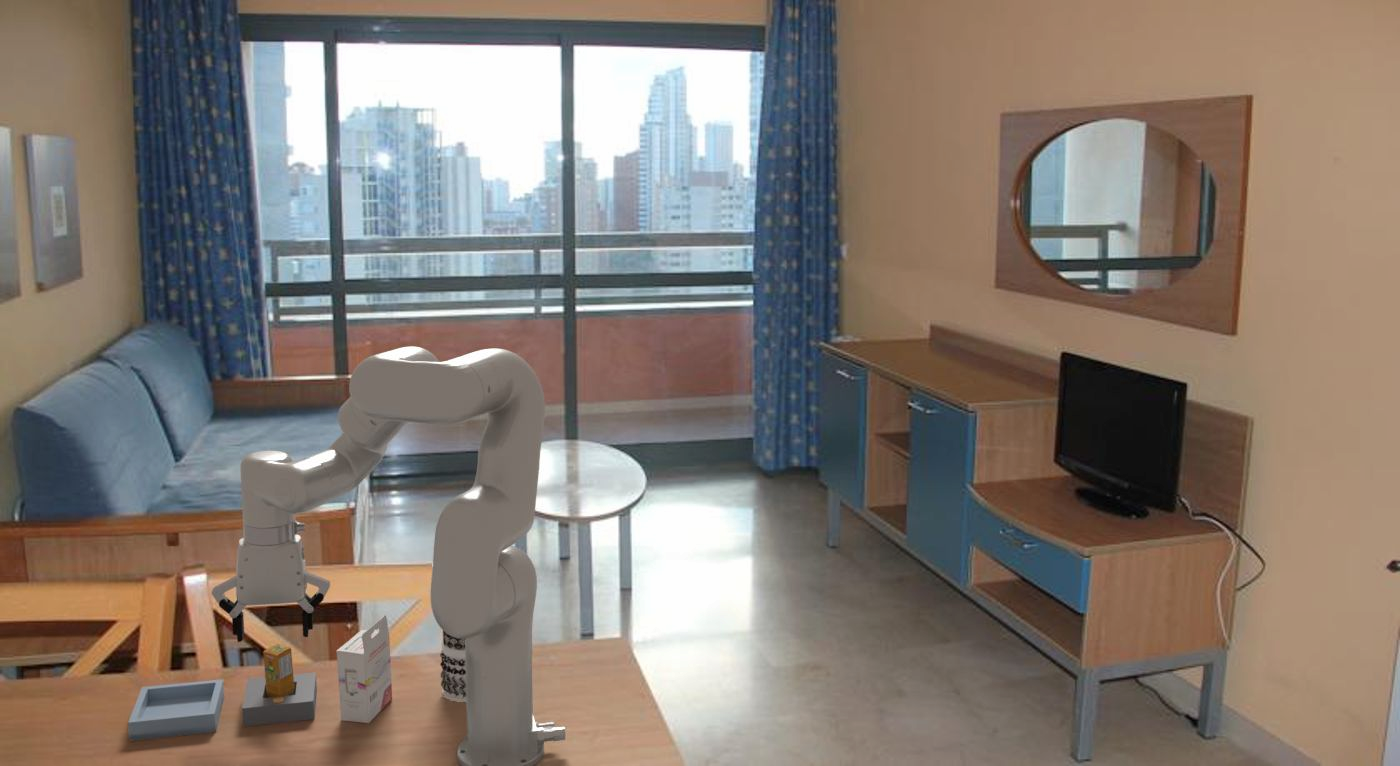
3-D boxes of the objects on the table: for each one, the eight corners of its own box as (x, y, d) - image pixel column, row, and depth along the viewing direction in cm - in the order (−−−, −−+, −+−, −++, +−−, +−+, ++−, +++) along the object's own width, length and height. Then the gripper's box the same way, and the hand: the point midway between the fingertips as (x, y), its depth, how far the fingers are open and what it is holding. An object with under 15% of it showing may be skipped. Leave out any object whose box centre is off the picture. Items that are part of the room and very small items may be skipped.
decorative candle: (448, 676, 203) (444, 534, 198) (502, 680, 202) (499, 537, 197) (431, 702, 194) (426, 553, 189) (488, 705, 193) (484, 556, 188)
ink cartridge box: (364, 696, 196) (360, 610, 193) (393, 699, 195) (389, 613, 192) (338, 721, 187) (334, 632, 184) (368, 724, 186) (364, 635, 183)
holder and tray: (317, 687, 198) (316, 669, 198) (314, 721, 187) (313, 702, 186) (143, 704, 192) (141, 685, 191) (129, 741, 180) (127, 721, 180)
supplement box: (265, 709, 191) (261, 650, 189) (281, 700, 194) (278, 642, 192) (280, 714, 189) (276, 654, 187) (297, 705, 192) (293, 646, 190)
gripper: (329, 521, 191) (332, 622, 195) (211, 526, 187) (217, 630, 190) (327, 537, 184) (330, 641, 188) (205, 543, 180) (211, 650, 183)
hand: (273, 635), depth 189 cm, fingers open, 9 cm apart
